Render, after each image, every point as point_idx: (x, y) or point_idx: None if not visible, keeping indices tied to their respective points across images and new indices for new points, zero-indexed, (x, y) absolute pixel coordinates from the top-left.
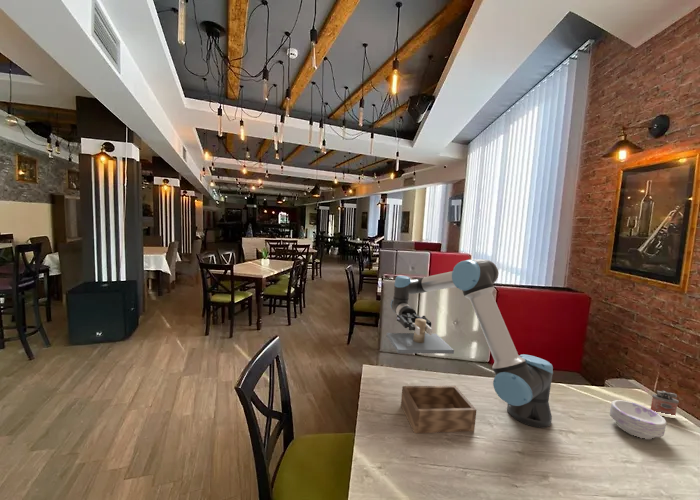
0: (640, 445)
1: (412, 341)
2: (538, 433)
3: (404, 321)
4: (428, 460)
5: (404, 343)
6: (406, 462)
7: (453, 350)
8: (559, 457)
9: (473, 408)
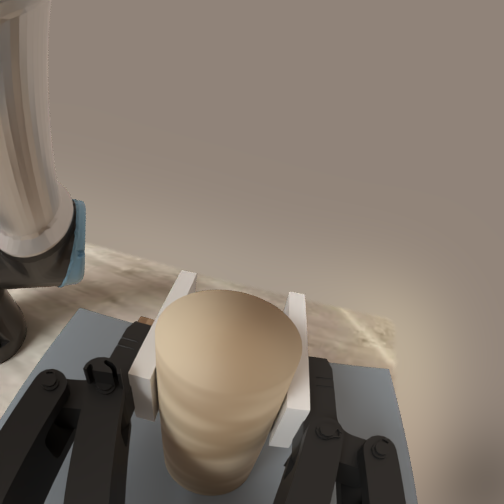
0: None
1: (266, 458)
2: (34, 307)
3: (399, 466)
4: None
5: None
6: (323, 338)
7: (82, 310)
8: None
9: (143, 321)
